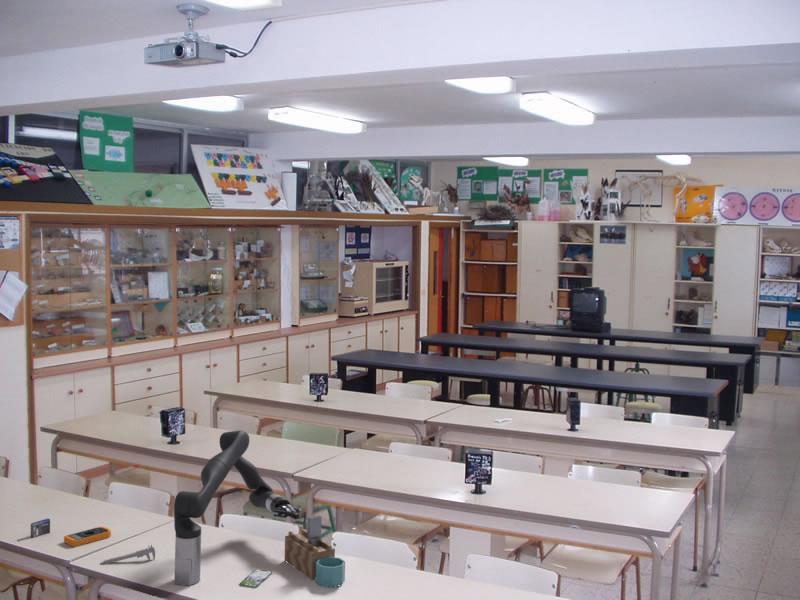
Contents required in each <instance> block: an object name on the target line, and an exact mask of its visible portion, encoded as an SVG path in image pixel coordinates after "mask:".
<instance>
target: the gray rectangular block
mask: <svg viewBox="0 0 800 600" xmlns="http://www.w3.org/2000/svg"><path fill="white" fill-rule="evenodd" d="M306 530H307V537H308V542H309V543H310V544H312V545H313V546H319V545H321V543H322V540H323V539H322V516H321V514H317V515H311V516H307V528H306Z"/></svg>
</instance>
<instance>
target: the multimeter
mask: <svg viewBox="0 0 800 600" xmlns="http://www.w3.org/2000/svg"><path fill="white" fill-rule="evenodd" d="M111 536H112V530H111V529H110V528H109V527H106V526H98V527H97V526H96V527H93V528H89V529H86V530H82V531H79V532H75V533H74V532H73V533H71V534H66V535H64V537H63V542H64V544H66V545H68V546H71V547H72V548H76V547H80V546H83V545H86V544H90V543H93V542H97V541H101V540H106V539H108V538H110V537H111Z"/></svg>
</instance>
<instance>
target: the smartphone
mask: <svg viewBox="0 0 800 600" xmlns="http://www.w3.org/2000/svg"><path fill="white" fill-rule="evenodd" d="M270 575H271V576H272V575H273V571H272V570H267V569H261V568H257V569H254V570H253V571H252V572H250V573H249V575H247V576H246V577H245V578H244V579H243V580H242V581H241V582H239V585H240V586H239V585H238V586H239V587H244V586H245V587H244V588H250V587H251V588H252V589H257V588H259V587H260V586H261V585H262V584H263V583H264V582H265V581H266V580H267V579H268V578H270V577H269V576H270ZM261 583H262V584H261ZM251 588H250V589H251Z"/></svg>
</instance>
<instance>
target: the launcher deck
mask: <svg viewBox="0 0 800 600" xmlns="http://www.w3.org/2000/svg"><path fill="white" fill-rule="evenodd" d="M335 553H336V549H335V547H334V546H333V545H332V544H330V543H328V542H326V541H325V540H323V539H322V543H321V545H319V546H313V545H312V544H310V543H309V542H308V537H307V529H305V528H302V529H301V532H299V533H294V532H293V531H288V535H285V537H284V558H283V559H284V560H285V561H284V560H283V561H284V562H286V561H287V562H288V563H289V565H290V564H291V565H292V566H291V565H290V566H291V567H293V566H294V567H295V568H294V567H293V568H294V569H296V570H297V569H298V570H299V572H300V571H301V572H302V573H301V572H300V573H301V574H303V573H304V574H305V576H306V577H307V576H308V577H307V578H309V579H310V578H311V579H310V580H315V579H314V578H316V562H317V561H318V560H319V559H321V558H326V557H336V554H335ZM287 562H286V563H287ZM288 563H287V564H288ZM298 570H297V571H298ZM304 574H303V575H304Z"/></svg>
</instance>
